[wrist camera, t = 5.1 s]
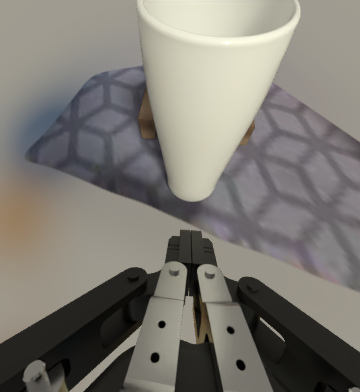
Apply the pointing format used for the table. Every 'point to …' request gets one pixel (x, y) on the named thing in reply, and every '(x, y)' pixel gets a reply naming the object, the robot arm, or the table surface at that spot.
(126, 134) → the table surface
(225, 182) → the table surface
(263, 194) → the table surface
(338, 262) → the table surface
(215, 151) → the white cup
